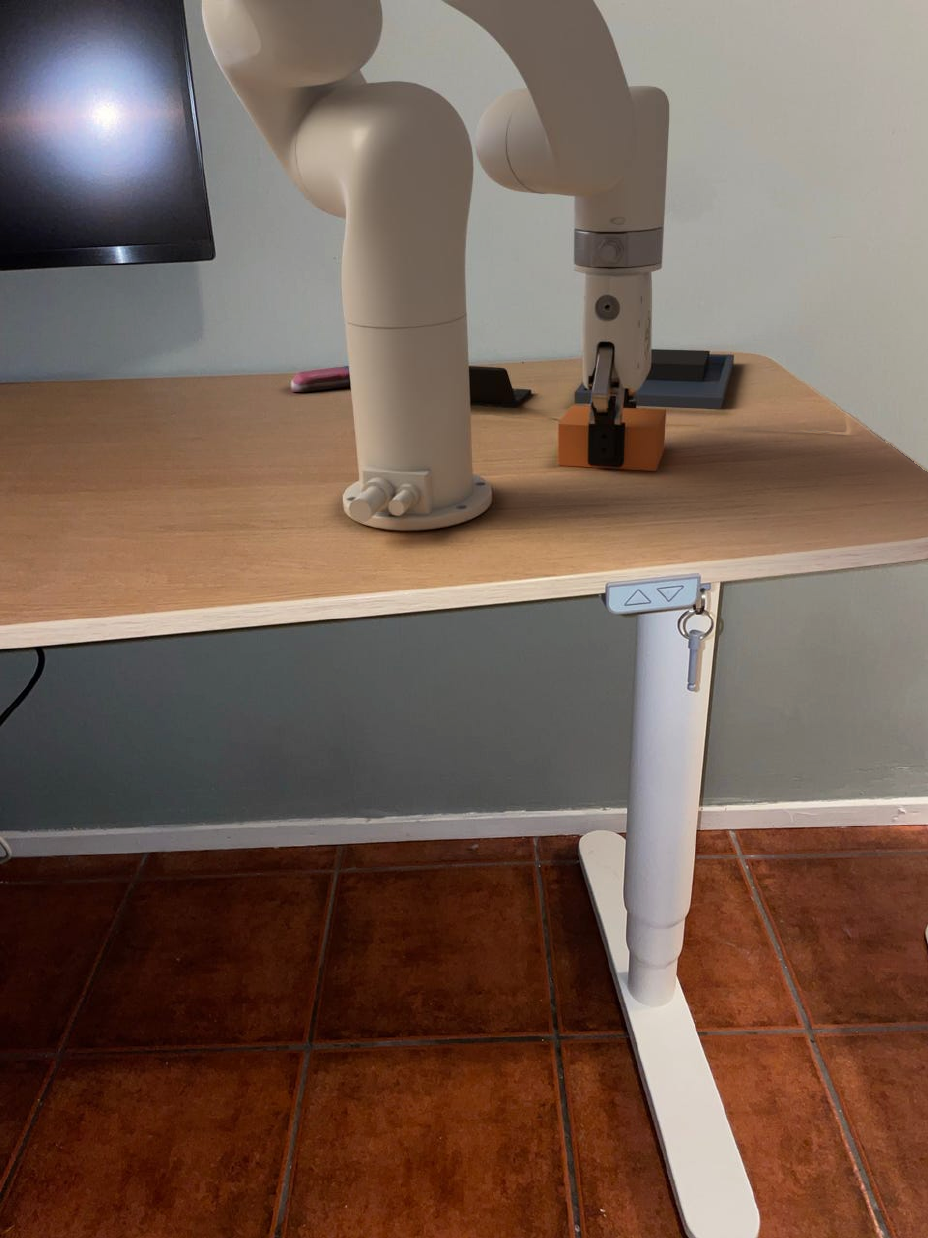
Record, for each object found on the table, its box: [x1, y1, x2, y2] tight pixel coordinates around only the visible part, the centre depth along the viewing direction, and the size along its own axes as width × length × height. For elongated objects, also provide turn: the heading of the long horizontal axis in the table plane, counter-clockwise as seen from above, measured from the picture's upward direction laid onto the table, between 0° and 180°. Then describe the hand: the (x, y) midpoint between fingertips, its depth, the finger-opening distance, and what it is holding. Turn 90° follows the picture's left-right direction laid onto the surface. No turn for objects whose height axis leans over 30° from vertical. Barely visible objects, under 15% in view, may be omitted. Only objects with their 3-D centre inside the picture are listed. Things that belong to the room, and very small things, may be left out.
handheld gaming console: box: [469, 365, 532, 409], centre depth 110 cm, size 12×7×10 cm
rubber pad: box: [645, 348, 711, 382], centre depth 118 cm, size 7×10×2 cm
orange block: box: [557, 405, 667, 472], centre depth 93 cm, size 6×9×4 cm, turn 73°
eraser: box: [290, 365, 351, 393], centre depth 121 cm, size 11×4×2 cm, turn 104°
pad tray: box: [574, 353, 735, 410], centre depth 115 cm, size 20×16×2 cm
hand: (612, 451), depth 93 cm, fingers closed on orange block, 6 cm apart
